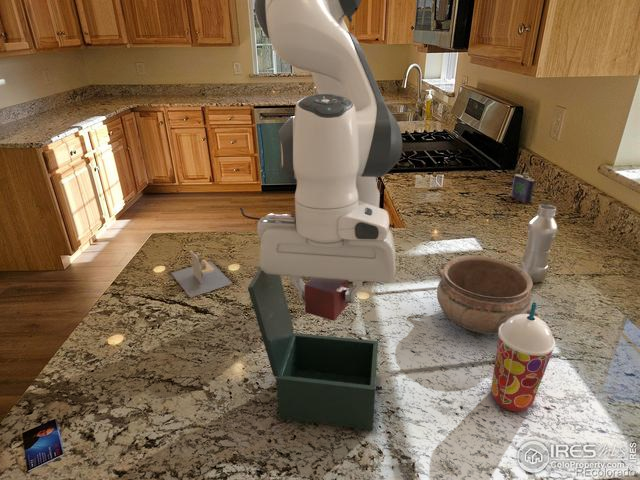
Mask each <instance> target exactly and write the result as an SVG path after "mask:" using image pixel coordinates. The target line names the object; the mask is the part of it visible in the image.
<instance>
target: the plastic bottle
mask: <svg viewBox="0 0 640 480" xmlns="http://www.w3.org/2000/svg"><path fill="white" fill-rule="evenodd" d="M556 212H557V207H556V206H554V205H551V204H540V205H538V210H537V212H536V214H537V215H536V216H535V217H533V218H532V219H531V220H530V221H529V222H528V224H527V229H526V231H527V234H526V246H525V250H524V253H523V257H522V260H521V261H520V264H519V266H518V267H520V268H521V269H523V270H524V271H525V272H527V273H528V275H529V276H530V277H531V279H532V283H541V282H543V281H544V280H546V278H547V276H548V270H549V266H548V265H549V258H550V257H549V256H550V252H551V249H552V246H553V243H554V241H555V238H556V235H557V233H558V224H557V222H556V219H555V218H554V217H556Z"/></svg>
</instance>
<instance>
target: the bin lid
mask: <svg viewBox="0 0 640 480" xmlns="http://www.w3.org/2000/svg"><path fill="white" fill-rule="evenodd" d="M247 291H248V294H249V297H250V302H251V304H252V308H253V311H254V314H255V318H256V321H257V323H258V324H257V325H258V329H259V332H260V335H261V338H262V342H263V345H264V348H265V352H266V355H267V359H268V362H269V365H270V369H271V372H272V376H273V377H277V376H278V375H279V372H280V369H281V366H282V363H283V361H284V358H285V355H286V352H287V349H288V346H289V343H290V341H291V338H292V335H293V333H295V332H294V331H295V329H294V325H293V321H292V317H291V313H290V309H289V305H288V301H287V297H286V293H285V290H284V286H283V281H282V278H281V275H274V274H266V273H264V272H263V270H262V269H261V268H260V267H258V269H257V271H256V272H255V275H254V277H253V278H252V280H251V281H250V283H249V285H248V286H247Z"/></svg>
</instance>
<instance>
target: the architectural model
mask: <svg viewBox="0 0 640 480" xmlns="http://www.w3.org/2000/svg"><path fill="white" fill-rule="evenodd" d="M189 252H190V258H191V259H190V260H191V264H192V266H189V267H186V268H181V269H179V270H176V271H173V272H170V274H171V275H172V276H173V277H174V279H175V280H176V282H177V283H178V284H179V285H180V286H181V288H182V289H183V291H185V293H186V294H187V295H188V297H189V298H194V297H197V296H200V295H203V294H205V293H208V292H211V291H215V290H218V289H221V288H223V287H226V286H231V285H233V284H234V283H233V282H232V281H231V280H230V279H229V278H228V277H227V276H226V275H225V274H224V273H223V272H222V271H221V270H220V269H219V268H218V267H217V266H216V265H215V264H214V263H213V262H212V261H211V260H210V261H207V260H206V259H202V257H201V256H202V252H200V253H197V254H195V253H194V252H193V250H191V249H190V250H189Z"/></svg>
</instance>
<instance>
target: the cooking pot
mask: <svg viewBox="0 0 640 480" xmlns="http://www.w3.org/2000/svg"><path fill="white" fill-rule="evenodd" d="M442 271H443V272H442ZM436 272H437V274H438V277H439V278H440V279H439V282H438V285H437V288H436V297H437V302H438V305H439V307H440V309H441V311H442V312H443V314H444V315H445V316H446V317H447V318H448V319H449V320H450V321H451V322H453V323H454V324H456V325H458V326H459V327H461V328H463V329H466V330H468V331H471V332H475V333H478V334H486V335H490V334H491V335H496V334H497V335H498V332H499V327H500V326H501V324H503V323H505V322H506V321H507V320H508V319H509V318H511V317H513V316H515V315H517V314H530V310H531V306H532V303H533V302H532V295H531V290H532V289H533V283H534V282H532V279H531V277H530V276H529V275H528V273H527V272H525V271H524V270H523V269H521V268H520V267H519V266H518V265H516V264H514V263H512V262H509V261H507V260H504V259H501V258H498V257H494V256H493V257H492V256H488V255H462V256H458V257H454V258H452V259H449V260H448V261H446V263H445V264H444V265H443V264H440V265H438V266H437V267H436ZM534 316H537V317H539V318H540V319H542V316H541V314H540V313H538V312H536V311H535V313H534Z"/></svg>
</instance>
